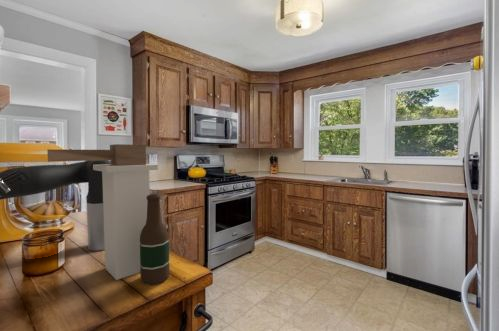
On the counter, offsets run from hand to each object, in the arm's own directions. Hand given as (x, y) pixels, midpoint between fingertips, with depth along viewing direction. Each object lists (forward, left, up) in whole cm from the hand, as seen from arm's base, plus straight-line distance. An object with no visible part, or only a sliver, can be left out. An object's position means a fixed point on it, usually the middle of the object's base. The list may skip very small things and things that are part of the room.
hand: (24, 174), depth 61 cm
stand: (0, +23, -31) cm, 38 cm away
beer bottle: (+12, +26, -31) cm, 42 cm away
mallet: (-1, +16, +1) cm, 16 cm away
